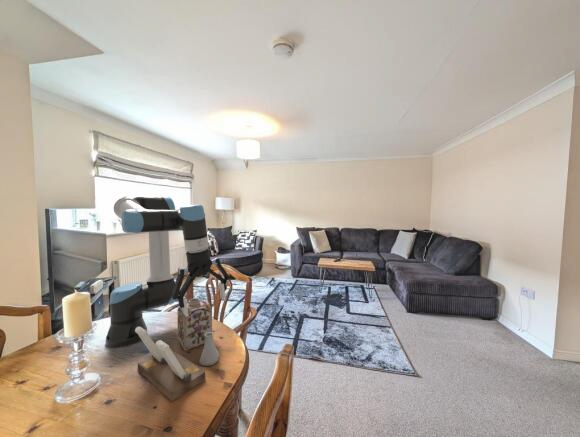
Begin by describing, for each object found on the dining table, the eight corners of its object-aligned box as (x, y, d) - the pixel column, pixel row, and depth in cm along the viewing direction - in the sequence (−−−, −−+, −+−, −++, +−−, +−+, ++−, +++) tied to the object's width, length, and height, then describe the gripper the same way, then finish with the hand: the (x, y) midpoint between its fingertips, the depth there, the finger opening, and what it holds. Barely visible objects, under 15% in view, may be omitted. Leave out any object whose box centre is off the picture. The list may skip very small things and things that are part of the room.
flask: (213, 367, 81) (212, 340, 81) (195, 365, 82) (194, 338, 82) (223, 355, 88) (222, 330, 88) (206, 353, 90) (205, 328, 89)
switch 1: (159, 362, 79) (140, 334, 74) (152, 356, 83) (132, 329, 78) (165, 357, 81) (146, 329, 76) (157, 352, 84) (138, 324, 79)
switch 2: (182, 380, 71) (162, 349, 66) (173, 373, 74) (152, 343, 69) (188, 374, 72) (168, 344, 67) (178, 367, 76) (159, 337, 71)
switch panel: (172, 401, 66) (171, 387, 66) (137, 369, 80) (137, 357, 80) (205, 379, 75) (205, 366, 75) (169, 354, 89) (169, 343, 89)
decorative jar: (184, 352, 91) (183, 307, 90) (177, 339, 100) (176, 299, 99) (213, 341, 98) (212, 300, 98) (204, 330, 107) (203, 293, 107)
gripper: (160, 262, 67) (171, 327, 70) (235, 242, 84) (241, 296, 87) (154, 257, 72) (164, 318, 76) (225, 240, 89) (231, 290, 92)
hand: (205, 306), depth 81 cm, fingers open, 13 cm apart
